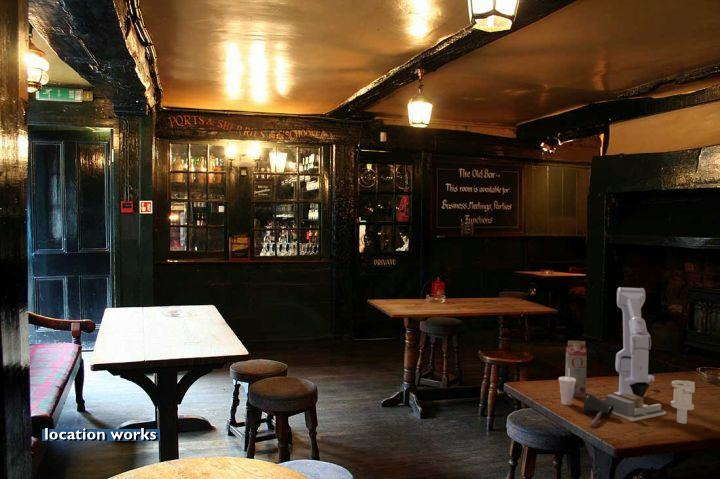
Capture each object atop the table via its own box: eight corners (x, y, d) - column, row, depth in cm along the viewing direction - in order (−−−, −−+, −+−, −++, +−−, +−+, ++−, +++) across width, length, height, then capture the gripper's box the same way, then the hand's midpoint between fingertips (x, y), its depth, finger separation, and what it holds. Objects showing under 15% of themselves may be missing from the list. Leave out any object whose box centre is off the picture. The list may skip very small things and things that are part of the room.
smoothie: (576, 406, 208) (577, 370, 207) (559, 405, 209) (560, 369, 209) (573, 401, 214) (574, 366, 214) (556, 400, 215) (557, 365, 215)
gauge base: (634, 403, 213) (635, 388, 213) (665, 414, 201) (666, 398, 201) (601, 409, 205) (602, 393, 205) (632, 421, 193) (632, 404, 193)
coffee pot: (589, 408, 206) (612, 417, 200) (569, 427, 193) (593, 437, 187) (592, 390, 204) (615, 399, 198) (572, 408, 191) (597, 417, 185)
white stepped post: (690, 427, 189) (692, 384, 188) (667, 421, 193) (669, 380, 193) (695, 421, 194) (696, 380, 193) (673, 416, 199) (674, 376, 198)
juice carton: (585, 397, 219) (587, 343, 218) (568, 396, 220) (569, 342, 220) (581, 392, 226) (583, 339, 225) (564, 391, 227) (566, 338, 226)
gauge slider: (628, 405, 206) (628, 392, 206) (650, 413, 198) (651, 400, 198) (619, 407, 204) (619, 394, 204) (641, 415, 196) (641, 402, 196)
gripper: (635, 370, 197) (634, 407, 197) (662, 366, 203) (661, 402, 204) (618, 366, 203) (617, 401, 204) (645, 362, 209) (644, 397, 210)
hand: (638, 401), depth 204 cm, fingers closed
